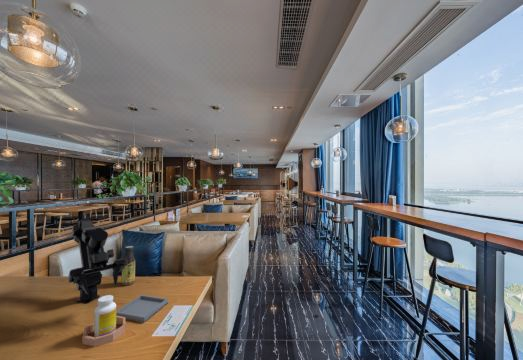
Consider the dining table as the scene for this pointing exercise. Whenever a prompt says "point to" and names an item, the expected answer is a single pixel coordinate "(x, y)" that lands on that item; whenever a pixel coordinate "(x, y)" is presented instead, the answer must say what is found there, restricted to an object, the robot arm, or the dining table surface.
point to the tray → (142, 308)
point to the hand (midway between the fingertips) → (102, 289)
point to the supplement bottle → (105, 316)
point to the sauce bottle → (128, 267)
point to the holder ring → (106, 338)
